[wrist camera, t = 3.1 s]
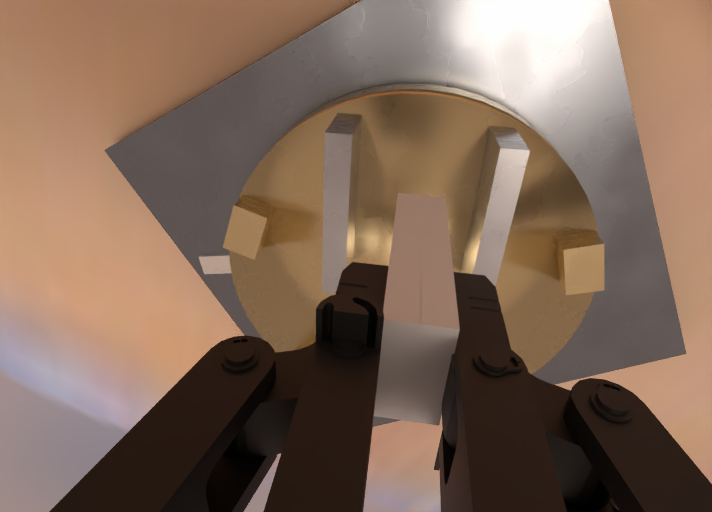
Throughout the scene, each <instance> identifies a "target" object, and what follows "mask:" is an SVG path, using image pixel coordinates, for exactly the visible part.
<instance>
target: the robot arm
mask: <svg viewBox="0 0 712 512" xmlns="http://www.w3.org/2000/svg"><path fill="white" fill-rule="evenodd" d="M441 414H442V425H443V430H442V435H441V439H440V444H439V448H438V453H437V457H436V462H435V466H434V470H439V468H440V494H441V512H712V484H711V483H710V482H709V480H708V479H707V478H706V477H705V476H704V474H703V473H702V472H701V471H700V470H699V468H698V467H697V466H696V465H695V464H694V462H693V461H692V460H691V459H690V458H689V456H688V455H687V454H686V453H685V452H684V450H683V449H682V448H681V447H680V446H679V444H678V443H677V442H676V441H675V440H674V438H673V437H672V436H671V435H670V434H669V432H668V431H667V430H666V429H665V428H664V426H663V425H662V424H661V423H660V422H659V420H658V419H657V418H656V417H655V416H654V414H653V413H652V412H651V411H650V409H649V408H648V407H647V406H646V405H645V404H644V403H643V402H642V401H641V400H640V399H639V398H638V397H637V396H636V395H635V394H634V393H632V392H631V391H629V390H627V389H625V388H624V387H622V386H620V385H618V384H615V383H613V382H610V381H607V380H603V379H593V378H589V379H585V380H580V381H578V382H577V383H576V384H575V385H574V386H573V387H572V390H571V391H570V390H567V389H564V388H562V387H559V386H556V385H553V384H551V383H548V382H545V381H543V380H541V379H539V378H537V377H535V376H533V375H532V374H530V373H529V372H528V369H527V367H526V365H525V363H524V361H523V359H522V358H521V357H520V356H518V355H517V354H516V353H515V352H514V351H513V350H511V347H510V343H509V338H508V334H507V330H506V326H505V322H504V318H503V314H502V313H501V306H500V302H499V298H498V294H497V290H496V287H495V286H494V285H493V284H492V283H491V281H490V280H489V279H488V278H487V277H486V276H485V275H477V274H468V273H460V272H453V263H452V254H451V245H450V236H449V227H448V218H447V209H446V200H445V198H444V197H434V196H424V195H414V194H404V193H398V196H397V204H396V212H395V220H394V228H393V236H392V244H391V252H390V260H389V266H385V265H376V264H367V263H358V262H352V263H351V264H350V265H348V266H347V267H346V268H345V269H344V270H343V271H342V273H341V276H340V280H339V284H338V287H337V290H336V294H335V295H332V296H329V297H328V298H326V299H324V300H322V301H321V302H320V304H319V305H318V306H317V308H316V342H314V343H313V344H311V345H309V346H307V347H304V348H302V349H297V350H292V351H284V352H274V349H273V348H272V346H271V345H270V344H269V342H267V341H265V340H263V339H261V338H259V337H253V336H247V335H246V336H237V337H232V338H229V339H226V340H223V341H221V342H220V343H218V344H217V345H215V346H214V347H213V348H211V349H210V350H209V351H208V352H207V353H206V354H205V355H204V356H203V357H202V358H201V359H200V360H199V361H198V362H197V363H196V364H195V365H194V366H193V367H192V368H191V369H190V370H189V371H188V372H187V373H186V374H185V375H184V376H183V377H182V378H181V379H180V381H179V382H178V383H177V384H176V385H175V386H174V387H173V388H172V389H171V390H170V391H169V392H168V393H167V394H166V395H165V396H164V397H163V398H162V399H161V400H160V401H159V402H158V403H157V404H156V405H155V406H154V407H153V408H152V409H151V410H150V411H149V412H148V413H147V414H146V415H145V416H144V417H143V418H142V419H141V420H140V421H139V422H138V423H137V424H136V425H135V426H134V427H133V428H132V429H131V430H130V431H129V432H128V433H127V434H126V435H125V436H124V437H123V438H122V439H121V440H120V441H119V442H118V443H117V444H116V445H115V446H114V447H113V448H112V449H111V450H110V451H109V452H108V453H107V454H106V455H105V456H104V457H103V458H102V459H101V460H100V461H99V462H98V464H96V465H95V466H94V468H92V469H91V470H90V471H89V472H88V473H87V474H86V475H85V476H84V477H83V478H82V479H81V480H80V481H79V482H78V484H76V485H75V486H74V487H73V488H72V489H71V490H70V492H69V493H68V494H67V495H66V496H65V497H64V498H63V499H62V500H61V501H60V502H59V503H58V504H57V505H56V506H55V507H54V508H53V509H52V510H51V511H50V512H243V511H244V510H245V508H246V507H247V505H248V503H249V502H250V500H251V498H252V497H253V495H254V493H255V492H256V490H257V489H258V487H259V485H260V484H261V482H262V480H263V479H264V477H265V476H266V474H267V472H268V471H269V469H270V467H271V466H272V464H273V462H274V461H275V459H276V457H277V454H279V453H281V457H280V460H279V463H278V466H277V470H276V473H275V476H274V479H273V483H272V486H271V489H270V493H269V496H268V499H267V503H266V506H265V509H264V512H363V507H364V498H365V489H366V480H367V471H368V462H369V454H370V445H371V436H372V426H373V417H374V416H376V417H383V418H390V419H397V420H404V421H412V422H419V423H426V424H433V425H439V423H440V418H441Z"/></svg>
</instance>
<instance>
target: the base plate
mask: <svg viewBox="0 0 712 512" xmlns="http://www.w3.org/2000/svg"><path fill="white" fill-rule="evenodd" d="M400 83H418V84H434V85H441V86H448V87H454V88H458V89H461V90H465V91H468V92H471V93H475V94H478V95H481V96H483V97H485V98H488V99H490V100H492V101H494V102H496V103H499V104H501V105H503V106H505V107H506V108H508V109H509V110H511V111H512V112H514V113H516V114H517V115H519V116H520V117H522V118H523V119H525V120H526V121H527V122H528V123H529V124H531V125H532V126H533V127H534V128H535V129H536V130H537V131H539V132H540V133H541V134H542V135H543V136H544V137H545V138H546V139H547V141H548V142H549V143H550V144H551V145H552V147H553V148H554V149H555V150H556V152H557V153H558V154H559V155H560V156H561V158H562V159H563V160H564V161H565V163H566V164H567V165H568V166H569V168H570V169H571V170H572V171H573V173H574V174H575V176H576V177H577V179H578V181H579V183H580V184H581V186H582V188H583V189H584V191H585V193H586V195H587V197H588V200H589V202H590V205H591V208H592V210H593V213H594V216H595V220H596V225H597V230H598V235H599V237H600V238H601V240H602V241H603V242H604V290H603V291H596V292H594V294H593V298H592V301H591V304H590V306H589V308H588V310H587V312H586V314H585V316H584V318H583V320H582V322H581V324H580V325H579V327H578V328H577V330H576V331H575V333H574V334H573V336H572V337H571V339H570V340H569V341H568V342H567V343H566V344H565V345H564V347H563V348H562V349H561V350H560V351H559V352H558V353H557V354H556V355H555V356H554V357H553V358H552V359H551V360H550V361H548V362H547V363H546V364H545V365H544V366H543V367H541V368H540V369H539V370H537V371H536V372H534V373H533V374H532V375H533V376H535V377H537V378H539V379H541V380H543V381H545V382H548V383H551V384H553V385H554V384H558V383H563V382H567V381H571V380H576V379H580V378H584V377H589V376H593V375H597V374H601V373H606V372H610V371H614V370H619V369H623V368H627V367H631V366H636V365H640V364H644V363H649V362H653V361H657V360H662V359H666V358H670V357H674V356H679V355H683V354H686V350H685V346H684V341H683V337H682V332H681V328H680V323H679V319H678V314H677V309H676V305H675V300H674V296H673V291H672V287H671V282H670V278H669V273H668V268H667V264H666V259H665V255H664V250H663V246H662V241H661V237H660V232H659V227H658V223H657V218H656V214H655V209H654V205H653V200H652V196H651V191H650V186H649V182H648V177H647V173H646V168H645V164H644V159H643V155H642V150H641V145H640V141H639V136H638V132H637V127H636V123H635V118H634V114H633V109H632V104H631V100H630V95H629V91H628V86H627V82H626V77H625V72H624V68H623V63H622V59H621V54H620V50H619V45H618V41H617V36H616V31H615V27H614V22H613V18H612V13H611V9H610V4H609V0H361V1H360V2H358V3H356V4H354V5H353V6H351V7H349V8H348V9H346V10H344V11H342V12H341V13H339V14H337V15H336V16H334V17H332V18H330V19H329V20H327V21H325V22H324V23H322V24H320V25H318V26H317V27H315V28H313V29H312V30H310V31H308V32H306V33H305V34H303V35H301V36H300V37H298V38H296V39H294V40H293V41H291V42H289V43H288V44H286V45H284V46H282V47H281V48H279V49H277V50H276V51H274V52H272V53H270V54H269V55H267V56H265V57H264V58H262V59H260V60H258V61H257V62H255V63H253V64H252V65H250V66H248V67H246V68H245V69H243V70H241V71H240V72H238V73H236V74H234V75H233V76H231V77H229V78H228V79H226V80H224V81H222V82H221V83H219V84H217V85H215V86H214V87H212V88H210V89H209V90H207V91H205V92H203V93H202V94H200V95H198V96H197V97H195V98H193V99H191V100H190V101H188V102H186V103H185V104H183V105H181V106H179V107H178V108H176V109H174V110H173V111H171V112H169V113H167V114H166V115H164V116H162V117H161V118H159V119H157V120H155V121H154V122H152V123H150V124H149V125H147V126H145V127H143V128H142V129H140V130H138V131H137V132H135V133H133V134H131V135H130V136H128V137H126V138H125V139H123V140H121V141H119V142H118V143H116V144H114V145H113V146H111V147H109V148H107V149H106V150H105V152H106V153H107V154H108V156H109V157H110V158H111V160H112V161H113V162H114V163H115V165H116V166H117V167H118V169H119V170H120V171H121V173H122V174H123V175H124V177H125V178H126V179H127V181H128V182H129V183H130V185H131V186H132V187H133V189H134V190H135V191H136V193H137V194H138V195H139V196H140V198H141V199H142V200H143V202H144V203H145V204H146V206H147V207H148V208H149V210H150V211H151V212H152V214H153V215H154V216H155V218H156V219H157V220H158V222H159V223H160V224H161V226H162V227H163V228H164V229H165V231H166V232H167V233H168V235H169V236H170V237H171V239H172V240H173V241H174V243H175V244H176V245H177V247H178V248H179V249H180V251H181V252H182V253H183V255H184V256H185V257H186V259H187V260H188V261H189V262H190V264H191V265H192V266H193V268H194V269H195V270H196V272H197V273H198V274H199V276H200V277H201V278H202V280H203V281H204V282H205V284H206V285H207V286H208V288H209V289H210V290H211V292H212V293H213V294H214V296H215V297H216V298H217V299H218V301H219V302H220V303H221V305H222V306H223V307H224V309H225V310H226V311H227V313H228V314H229V315H230V317H231V318H232V319H233V321H234V322H235V323H236V325H237V326H238V327H239V329H240V330H241V331H242V332H243V334H244V335H245V336H246V335H247V336H253V337H259V338H261V339H263V338H262V337H261V336H260V334H259V333H258V332H257V330H256V329H255V327H254V326H253V324H252V323H251V321H250V320H249V318H248V317H247V315H246V312H245V310H244V308H243V306H242V304H241V302H240V300H239V297H238V294H237V291H236V288H235V285H234V282H233V278H232V272H231V267H230V258H229V250H228V249H225V248H223V244H224V240H225V236H226V233H227V229H228V225H229V221H230V217H231V213H232V209H233V206H234V204H235V203H236V202H237V201H238V199H239V196H240V194H241V192H242V190H243V188H244V185H245V183H246V181H247V180H248V178H249V177H250V175H251V174H252V172H253V171H254V169H255V168H256V166H257V165H258V163H259V162H260V161H261V160H262V159H263V158H264V157H265V155H266V154H267V153H268V152H269V151H270V150H271V149H272V148H273V147H274V145H275V144H276V143H277V142H278V141H279V140H280V139H281V138H282V137H283V136H284V135H285V134H286V133H287V132H288V131H289V130H290V129H291V128H292V127H293V126H295V125H296V124H297V123H298V122H300V121H301V120H302V119H303V118H304V117H306V116H307V115H309V114H310V113H312V112H314V111H315V110H317V109H319V108H320V107H322V106H323V105H325V104H327V103H329V102H331V101H334V100H336V99H338V98H341V97H343V96H345V95H348V94H350V93H354V92H357V91H361V90H365V89H368V88H372V87H377V86H384V85H392V84H400ZM263 340H264V339H263ZM274 352H275V351H274ZM395 421H399V420H397V419H390V418H383V417H376V416H374V417H373V426H372V427H374V426H378V425H382V424H387V423H391V422H395Z"/></svg>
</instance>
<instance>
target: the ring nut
mask: <svg viewBox="0 0 712 512" xmlns="http://www.w3.org/2000/svg"><path fill="white" fill-rule="evenodd" d="M398 193H404V194H414V195H424V196H434V197H444V198H445V200H446V209H447V218H448V227H449V236H450V245H451V254H452V263H453V272H460V273H468V274H477V275H485V276H486V277H487V278H488V279H489V280H490V281H491V283H492V284H493V285H494V286H495V287H496V290H497V294H498V298H499V302H500V306H501V313H502V314H503V318H504V322H505V326H506V330H507V334H508V338H509V343H510V347H511V350H513V351H514V352H515V353H516V354H517V355H518V356H520V357H521V358H522V359H523V361H524V363H525V365H526V367H527V369H528V372H529V373H530V374H533V373H534V372H536V371H537V370H539V369H540V368H541V367H543V366H544V365H545V364H546V363H547V362H548V361H550V360H551V359H552V358H553V357H554V356H555V355H556V354H557V353H558V352H559V351H560V350H561V349H562V348H563V347H564V345H565V344H566V343H567V342H568V341H569V340H570V339H571V337H572V336H573V334H574V333H575V331H576V330H577V328H578V327H579V325H580V324H581V322H582V320H583V318H584V316H585V314H586V312H587V310H588V308H589V306H590V304H591V301H592V298H593V294H594V292H596V291H603V290H604V242H603V241H602V240H601V238H600V237H599V235H598V230H597V225H596V220H595V216H594V213H593V210H592V208H591V205H590V202H589V200H588V197H587V195H586V193H585V191H584V189H583V188H582V186H581V184H580V183H579V181H578V179H577V177H576V176H575V174H574V173H573V171H572V170H571V169H570V168H569V166H568V165H567V164H566V163H565V161H564V160H563V159H562V158H561V156H560V155H559V154H558V153H557V152H556V150H555V149H554V148H553V147H552V145H551V144H550V143H549V142H548V141H547V139H546V138H545V137H544V136H543V135H542V134H541V133H540V132H539V131H537V130H536V129H535V128H534V127H533V126H532V125H531V124H529V123H528V122H527V121H526V120H525V119H523V118H522V117H520V116H519V115H517V114H516V113H514V112H512V111H511V110H509V109H508V108H506V107H505V106H503V105H501V104H499V103H496V102H494V101H492V100H490V99H488V98H485V97H483V96H481V95H478V94H475V93H471V92H468V91H465V90H461V89H458V88H454V87H448V86H441V85H434V84H418V83H400V84H392V85H384V86H377V87H372V88H368V89H365V90H361V91H357V92H354V93H350V94H348V95H345V96H343V97H341V98H338V99H336V100H334V101H331V102H329V103H327V104H325V105H323V106H322V107H320V108H319V109H317V110H315V111H314V112H312V113H310V114H309V115H307V116H306V117H304V118H303V119H302V120H301V121H300V122H298V123H297V124H296V125H295V126H293V127H292V128H291V129H290V130H289V131H288V132H287V133H286V134H285V135H284V136H283V137H282V138H281V139H280V140H279V141H278V142H277V143H276V144H275V145H274V147H273V148H272V149H271V150H270V151H269V152H268V153H267V154H266V155H265V157H264V158H263V159H262V160H261V161H260V162H259V163H258V165H257V166H256V168H255V169H254V171H253V172H252V174H251V175H250V177H249V178H248V180H247V181H246V183H245V185H244V188H243V190H242V192H241V194H240V196H239V199H238V201H237V202H236V203H235V204H234V206H233V209H232V213H231V217H230V221H229V225H228V229H227V233H226V236H225V240H224V244H223V248H225V249H228V250H229V258H230V267H231V272H232V278H233V282H234V285H235V288H236V291H237V294H238V297H239V300H240V302H241V304H242V306H243V308H244V310H245V312H246V315H247V317H248V318H249V320H250V321H251V323H252V324H253V326H254V327H255V329H256V330H257V332H258V333H259V334H260V336H261V337H262V338H263V339H264V340H265V341H267V342H269V344H270V345H271V346H272V348H273V349H274V351H275V352H284V351H292V350H297V349H302V348H304V347H307V346H309V345H311V344H313V343H314V342H316V308H317V306H318V305H319V304H320V302H321V301H322V300H324V299H326V298H328V297H329V296H332V295H335V294H336V290H337V287H338V284H339V280H340V276H341V273H342V271H343V270H344V269H345V268H346V267H347V266H348V265H350V264H351V263H352V262H358V263H367V264H376V265H385V266H389V260H390V252H391V244H392V236H393V228H394V220H395V212H396V204H397V196H398Z"/></svg>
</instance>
